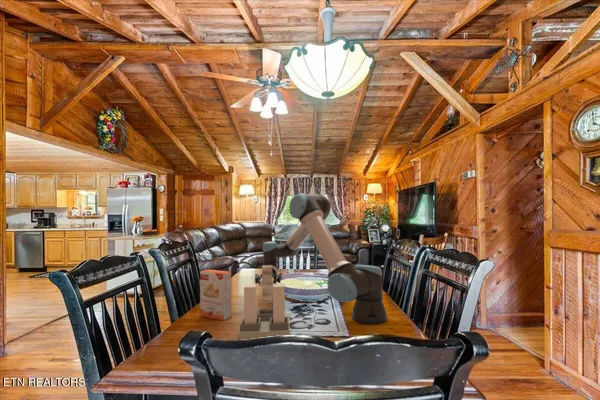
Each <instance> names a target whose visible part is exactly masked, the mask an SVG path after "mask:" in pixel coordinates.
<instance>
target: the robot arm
mask: <svg viewBox="0 0 600 400" xmlns="http://www.w3.org/2000/svg"><path fill="white" fill-rule="evenodd" d="M331 209H332V208H331V202H330V200H329V198H328V197H327V196H325V195H324V194H321V193H303V192H302V193H297V194H294V195H293V196H292V198H290V201H289V215H290V216H291V217H292V218H294V219H298V221H299V223H300V224H299V226H298V227H297V228H295V230H294V232H293V233H292V234H291V236H290V237H289V238H288V239H287V240H286V242H285V243H281V244H280V243H279V244H278V243H277V242H276V241H265V242H263V246H262V254H263V262H262V264H263V265H262V266H264V265H272V281H271V282H272V287H273V284H281V280H282V279H283V273H278V272H279V271H278V259H281V258H282V259H283V258H290V257H295V256H297V255H298V254H299V250H300V248H299V247H301V245H302V244H303V243H304V242H305V241H306V240H307V238H308V237H309V236H311V239H312V241H313V243H314V245H315V247H316V248H317V250H318V253H319V254H320V256H321V259H322V260H323V262H324V265H325V266H326V268H327V269H328V273H327V277H328V279H327V290H328V292H329V295H330V296H331V297H332V298H333V299H334V300H335V301H337V302H341V303H349V302H353V301H354V300H355V302H354V303H353V304H354V305H353V309H352V310H351V311H352V312H351V316H352V319H353V320H354V321H356V322H358V323H363V324H370V325H375V324H376V325H377V324H383V323H385V322H387V321H388V313H387V310H386V307H385V304H384V300H383V271H382V268H381V267H380V266H376V265H369V264H367V265H366V264H355V267H354V265H353V263H352V262H350V261H347V259H346V258H345V255H344V254H343V252H342V251H341V249H340V247H339V245H338V243H337V241H336V240H335V238H334V237H333V234H332V233H331V231H330V229H329V227H328V226H327V223H326V222H325V220H326V219H327V218H328V216H329V214H330V212H331ZM254 276H255V277H254V284H255V285H257V284H258V286H259V287H260V288H262V273H260V274H258V273H256V274H255V275H254Z"/></svg>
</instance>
